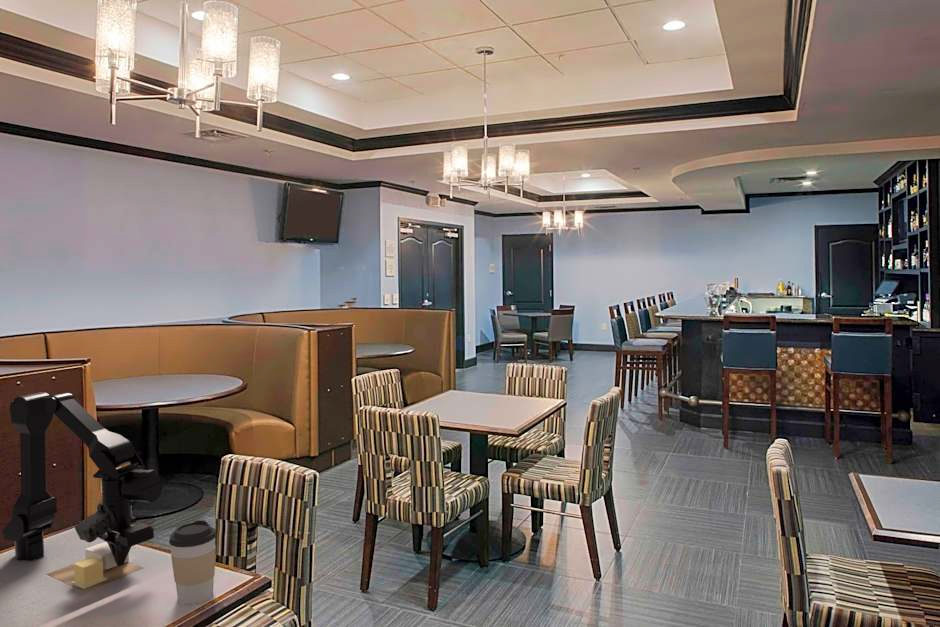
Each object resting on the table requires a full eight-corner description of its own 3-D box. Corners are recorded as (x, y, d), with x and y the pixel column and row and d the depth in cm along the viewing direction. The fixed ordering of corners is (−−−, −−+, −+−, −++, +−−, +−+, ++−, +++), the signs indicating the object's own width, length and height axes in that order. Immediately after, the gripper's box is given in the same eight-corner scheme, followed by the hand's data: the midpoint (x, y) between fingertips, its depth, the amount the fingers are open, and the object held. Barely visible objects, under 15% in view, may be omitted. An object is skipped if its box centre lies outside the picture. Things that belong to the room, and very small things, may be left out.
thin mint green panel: (71, 583, 143) (71, 582, 143) (94, 574, 147) (94, 572, 147) (83, 589, 140) (83, 587, 140) (107, 579, 145) (107, 578, 145)
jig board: (46, 578, 148) (45, 563, 148) (104, 556, 159) (104, 542, 159) (85, 596, 139) (84, 580, 139) (144, 572, 150) (143, 557, 150)
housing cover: (86, 564, 152) (85, 548, 152) (111, 554, 157) (111, 539, 157) (102, 571, 148) (102, 555, 148) (128, 561, 153) (128, 545, 153)
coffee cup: (202, 609, 133) (198, 536, 132) (162, 605, 135) (158, 533, 134) (227, 587, 142) (224, 519, 141) (189, 584, 144) (186, 516, 143)
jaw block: (74, 581, 143) (73, 563, 143) (93, 574, 147) (92, 556, 146) (84, 586, 141) (83, 567, 141) (103, 578, 145) (102, 560, 144)
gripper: (57, 500, 147) (61, 569, 148) (103, 517, 137) (107, 590, 138) (107, 486, 156) (110, 550, 157) (154, 500, 146) (157, 569, 147)
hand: (120, 565), depth 150 cm, fingers closed
